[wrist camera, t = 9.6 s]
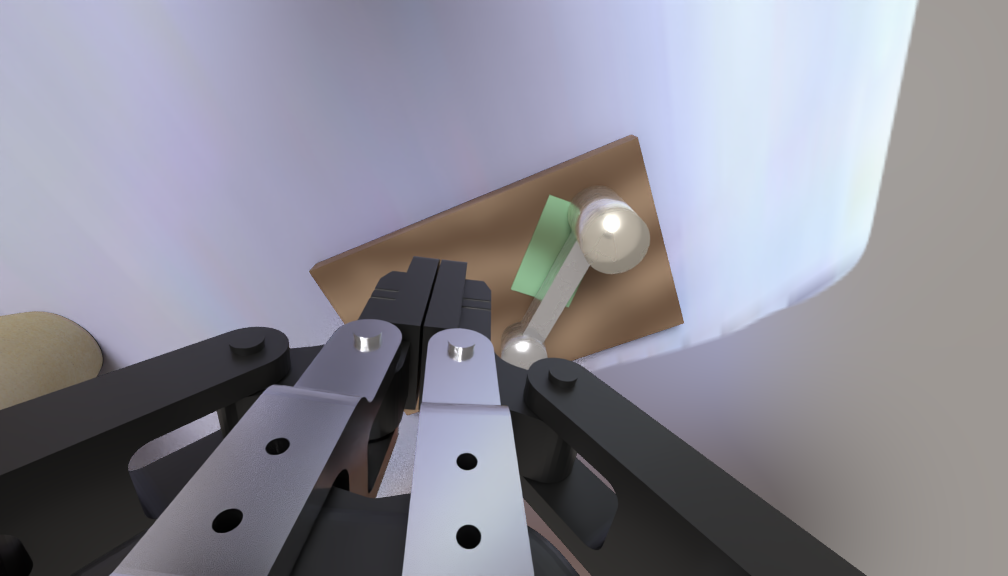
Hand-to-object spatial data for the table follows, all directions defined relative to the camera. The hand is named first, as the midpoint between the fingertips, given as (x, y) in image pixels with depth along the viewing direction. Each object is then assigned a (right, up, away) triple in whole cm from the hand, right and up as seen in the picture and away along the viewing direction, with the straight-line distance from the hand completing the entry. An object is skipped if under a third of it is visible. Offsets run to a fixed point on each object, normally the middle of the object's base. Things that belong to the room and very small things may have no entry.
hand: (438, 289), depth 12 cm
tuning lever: (+6, +1, +21) cm, 22 cm away
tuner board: (+2, 0, +24) cm, 24 cm away
